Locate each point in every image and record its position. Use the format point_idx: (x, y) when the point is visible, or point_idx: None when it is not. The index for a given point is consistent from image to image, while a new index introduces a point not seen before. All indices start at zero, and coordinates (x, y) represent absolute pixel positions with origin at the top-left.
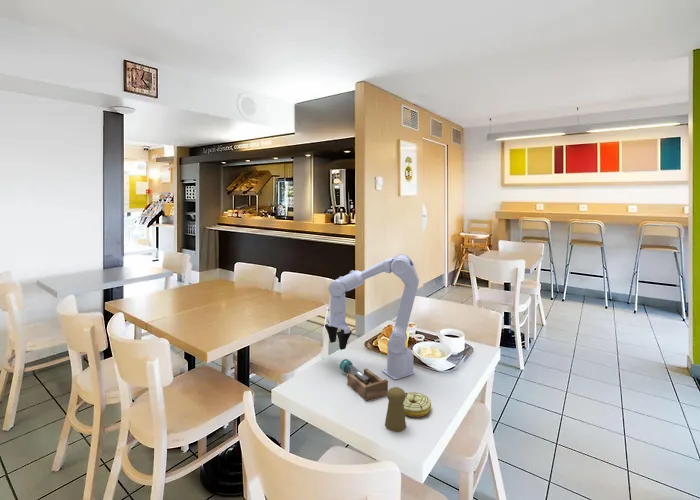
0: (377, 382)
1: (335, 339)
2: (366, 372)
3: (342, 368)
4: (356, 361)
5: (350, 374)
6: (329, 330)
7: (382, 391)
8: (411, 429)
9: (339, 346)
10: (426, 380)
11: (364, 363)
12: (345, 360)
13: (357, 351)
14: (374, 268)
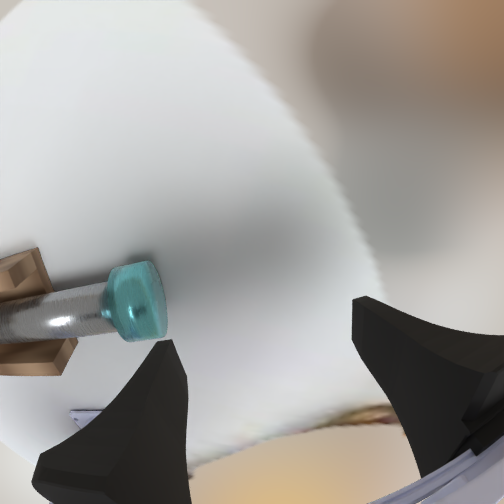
0: None
1: (360, 352)
2: (39, 358)
3: (112, 270)
4: (262, 360)
5: (3, 282)
6: (435, 369)
7: None
8: None
9: (162, 353)
10: None
11: (228, 382)
12: (129, 317)
13: (353, 379)
14: None
